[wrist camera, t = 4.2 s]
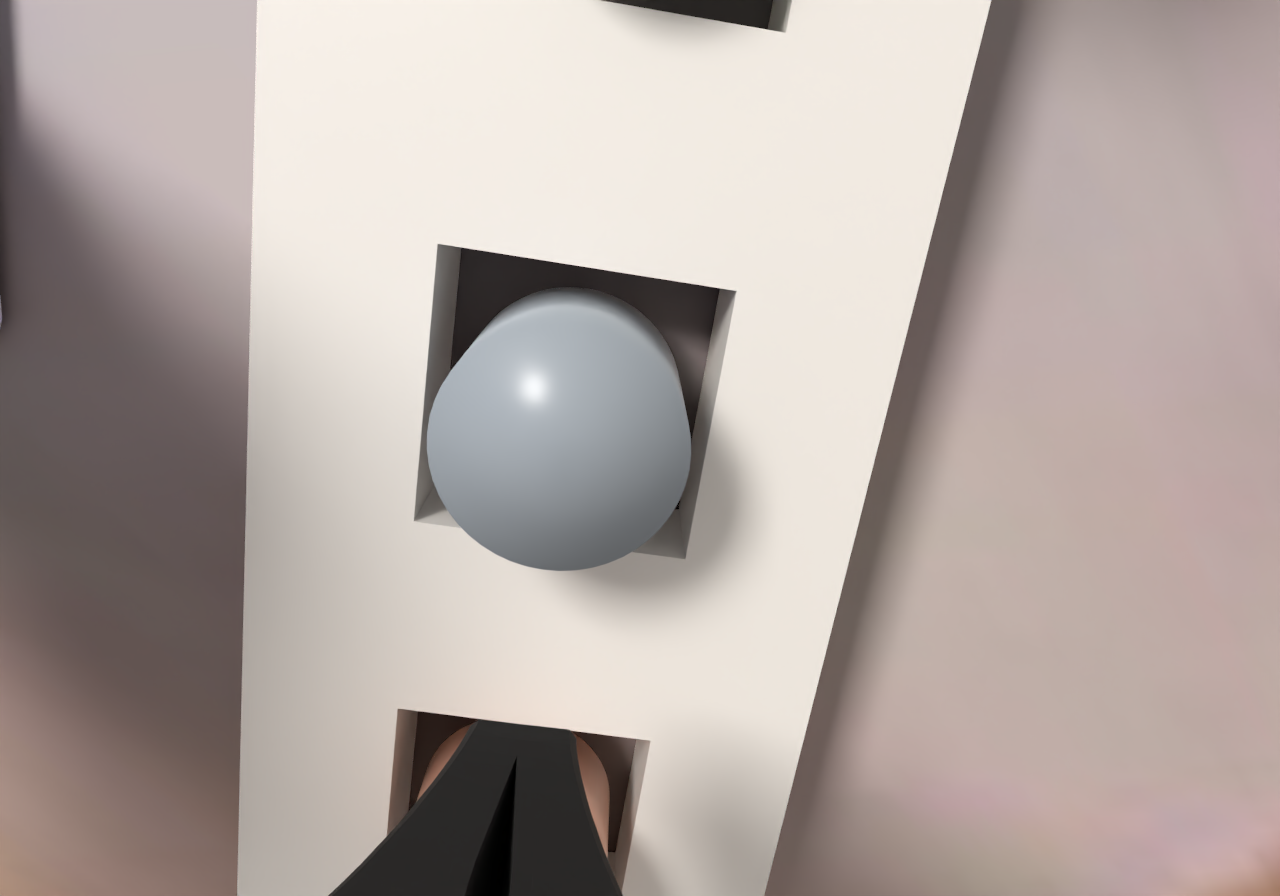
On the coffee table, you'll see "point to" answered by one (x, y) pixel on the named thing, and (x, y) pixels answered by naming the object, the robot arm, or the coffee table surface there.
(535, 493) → the slate button
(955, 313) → the coffee table surface
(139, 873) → the coffee table surface
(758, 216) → the panel
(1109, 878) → the coffee table surface
